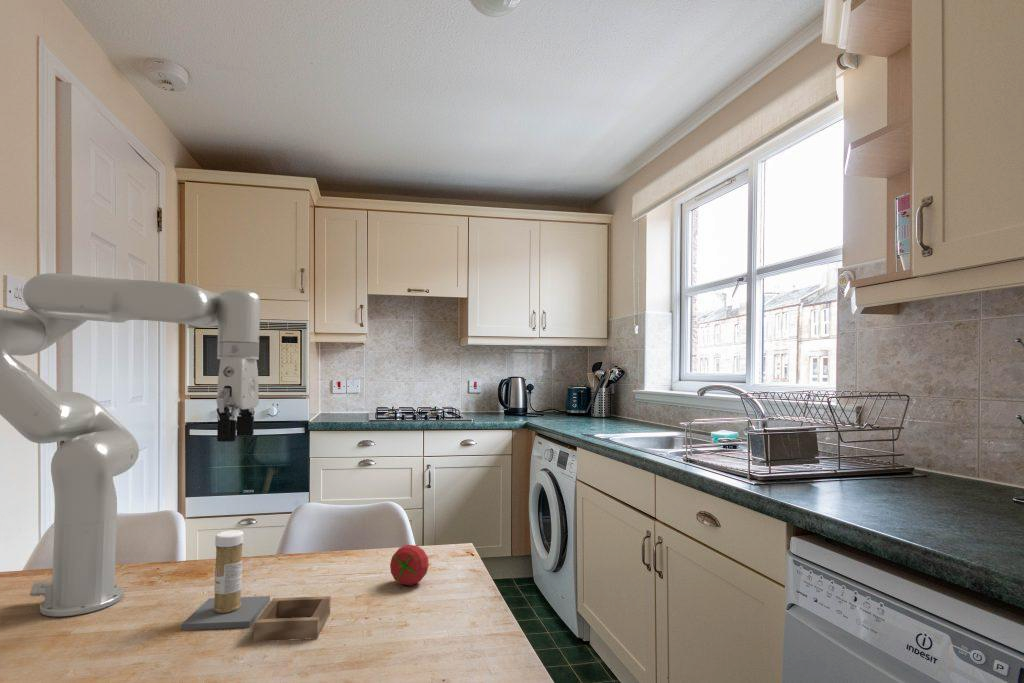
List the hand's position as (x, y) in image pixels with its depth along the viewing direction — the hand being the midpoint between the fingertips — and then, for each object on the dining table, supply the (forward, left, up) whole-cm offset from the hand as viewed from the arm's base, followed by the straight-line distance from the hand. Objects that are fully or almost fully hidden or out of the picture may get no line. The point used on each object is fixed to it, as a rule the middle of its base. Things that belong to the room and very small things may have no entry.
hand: (236, 438), depth 114 cm
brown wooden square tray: (+16, -16, -30) cm, 38 cm away
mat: (+3, -10, -30) cm, 32 cm away
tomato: (+34, +2, -31) cm, 46 cm away
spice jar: (+3, -10, -30) cm, 31 cm away
